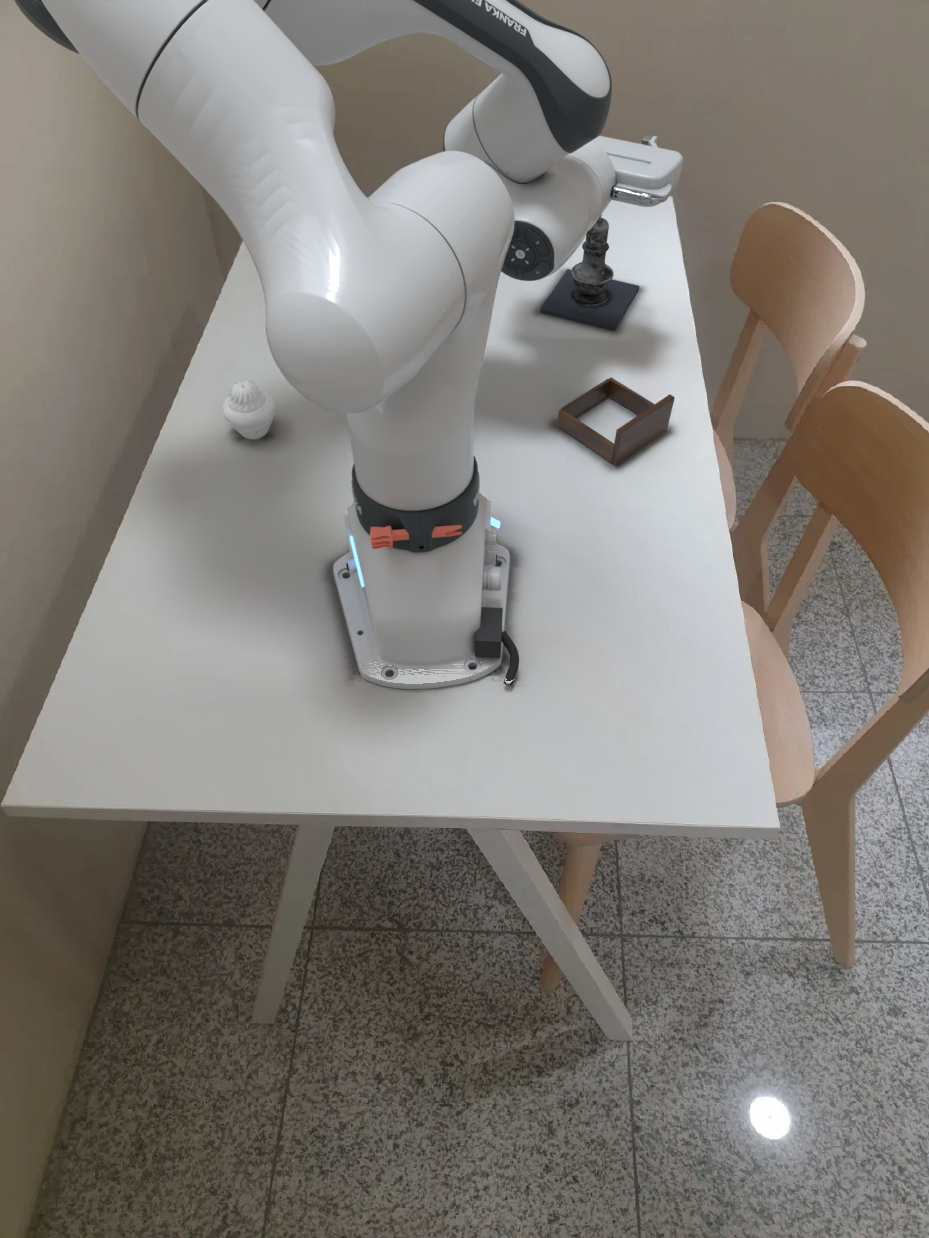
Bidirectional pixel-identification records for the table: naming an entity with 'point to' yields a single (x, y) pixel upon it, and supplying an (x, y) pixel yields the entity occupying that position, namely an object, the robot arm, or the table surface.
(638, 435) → the wooden square frame
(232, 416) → the muffin
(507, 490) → the table surface
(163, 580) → the table surface
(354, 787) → the table surface
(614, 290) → the mat
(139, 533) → the table surface
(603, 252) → the dark grey chess piece
